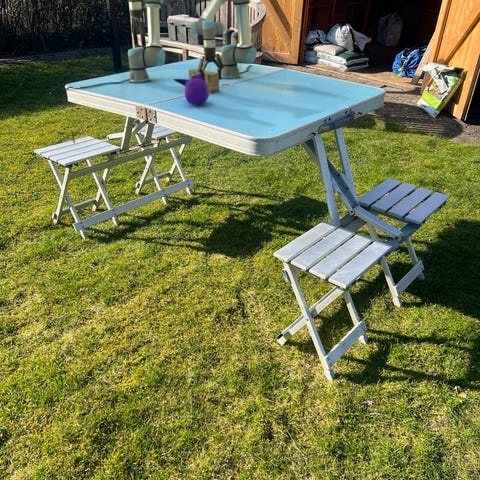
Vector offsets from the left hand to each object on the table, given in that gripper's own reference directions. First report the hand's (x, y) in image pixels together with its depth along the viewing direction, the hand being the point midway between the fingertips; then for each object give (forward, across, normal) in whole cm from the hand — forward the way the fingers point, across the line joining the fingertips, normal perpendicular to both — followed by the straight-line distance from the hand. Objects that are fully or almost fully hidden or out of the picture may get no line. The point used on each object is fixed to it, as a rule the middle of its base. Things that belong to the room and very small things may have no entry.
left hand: (140, 45), depth 293 cm
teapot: (+29, +40, -89) cm, 102 cm away
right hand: (+22, -28, -36) cm, 51 cm away
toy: (+29, -50, -11) cm, 59 cm away
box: (+29, -20, -35) cm, 50 cm away
